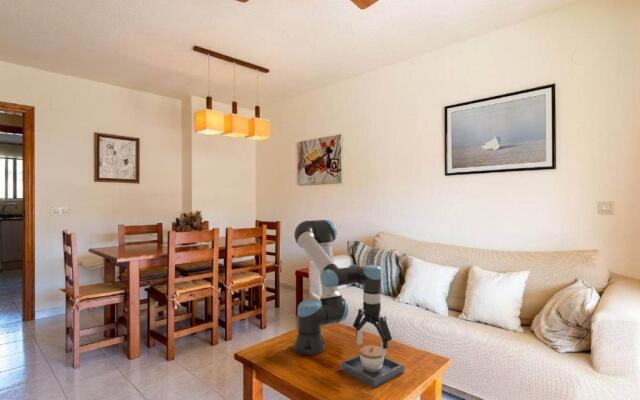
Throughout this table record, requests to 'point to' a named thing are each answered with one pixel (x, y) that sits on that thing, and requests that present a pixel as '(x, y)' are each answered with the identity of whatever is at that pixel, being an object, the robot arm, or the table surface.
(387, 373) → the tray
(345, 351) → the table surface
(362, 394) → the table surface
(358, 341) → the robot arm
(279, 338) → the table surface
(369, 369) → the lidded jar
